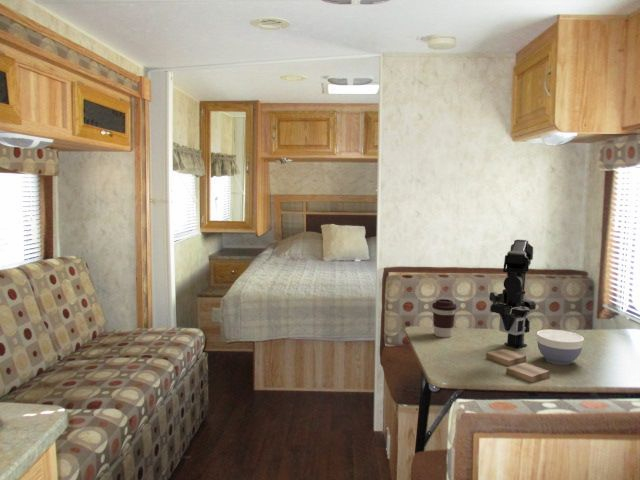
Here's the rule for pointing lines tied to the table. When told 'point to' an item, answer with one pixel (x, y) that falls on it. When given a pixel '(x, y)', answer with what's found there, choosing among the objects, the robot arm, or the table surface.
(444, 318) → the coffee cup
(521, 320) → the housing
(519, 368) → the stand
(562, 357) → the bowl
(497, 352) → the stand
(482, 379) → the table surface
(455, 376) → the table surface
